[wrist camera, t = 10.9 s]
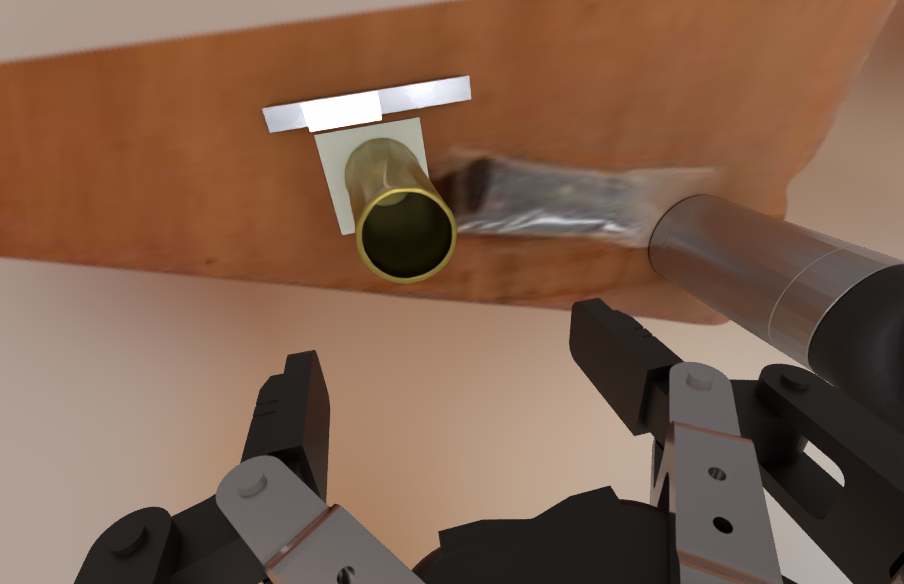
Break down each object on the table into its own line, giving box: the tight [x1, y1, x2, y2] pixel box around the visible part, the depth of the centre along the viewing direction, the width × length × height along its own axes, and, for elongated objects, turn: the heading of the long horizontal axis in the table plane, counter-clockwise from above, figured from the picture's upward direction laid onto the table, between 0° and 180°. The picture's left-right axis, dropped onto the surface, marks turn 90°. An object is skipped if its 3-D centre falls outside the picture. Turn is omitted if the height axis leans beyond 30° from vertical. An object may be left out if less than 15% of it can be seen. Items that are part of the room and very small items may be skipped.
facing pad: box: [314, 117, 429, 235], centre depth 33 cm, size 8×8×1 cm
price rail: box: [262, 75, 471, 133], centre depth 30 cm, size 14×2×3 cm, turn 98°
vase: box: [345, 138, 457, 284], centre depth 27 cm, size 6×6×14 cm
